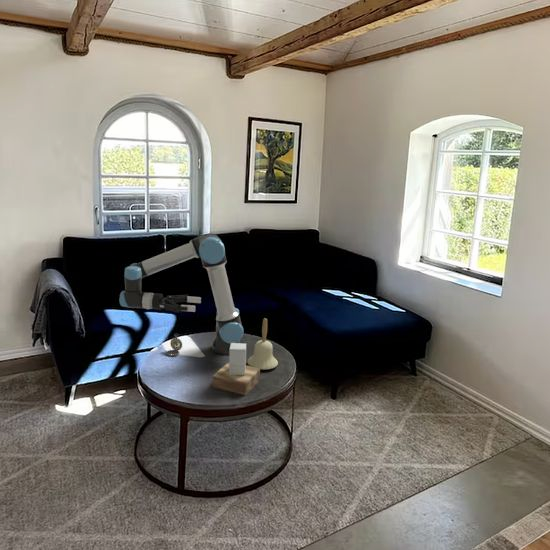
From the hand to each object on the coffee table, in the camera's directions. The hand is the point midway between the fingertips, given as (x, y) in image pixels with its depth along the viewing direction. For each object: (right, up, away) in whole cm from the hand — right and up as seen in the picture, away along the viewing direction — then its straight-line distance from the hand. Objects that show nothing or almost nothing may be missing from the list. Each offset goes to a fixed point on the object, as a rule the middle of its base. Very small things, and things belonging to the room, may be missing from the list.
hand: (198, 304), depth 233 cm
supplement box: (+19, -30, -8) cm, 37 cm away
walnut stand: (+19, -36, -7) cm, 41 cm away
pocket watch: (-16, -27, +22) cm, 38 cm away
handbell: (+30, -32, +14) cm, 46 cm away
